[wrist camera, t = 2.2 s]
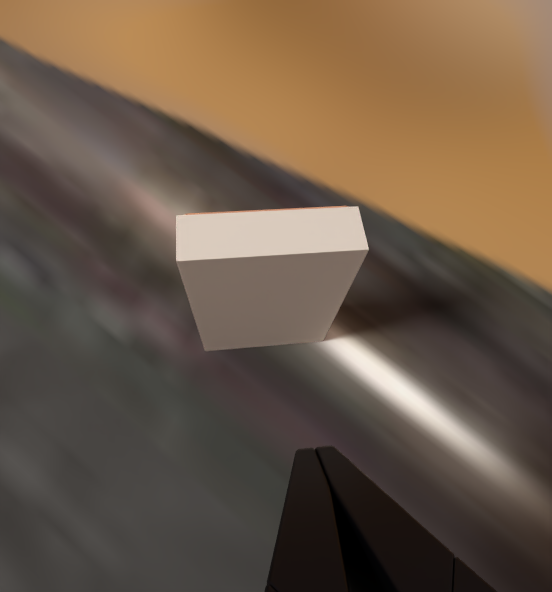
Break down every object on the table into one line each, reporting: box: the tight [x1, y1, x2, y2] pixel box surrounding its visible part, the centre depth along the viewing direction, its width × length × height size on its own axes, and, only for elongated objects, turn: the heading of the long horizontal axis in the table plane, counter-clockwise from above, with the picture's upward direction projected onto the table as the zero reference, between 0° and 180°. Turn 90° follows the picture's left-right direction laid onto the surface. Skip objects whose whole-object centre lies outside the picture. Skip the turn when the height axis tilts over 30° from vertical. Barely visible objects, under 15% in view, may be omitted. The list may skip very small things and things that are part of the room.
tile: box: [176, 206, 369, 351], centre depth 19 cm, size 2×7×10 cm, turn 96°
